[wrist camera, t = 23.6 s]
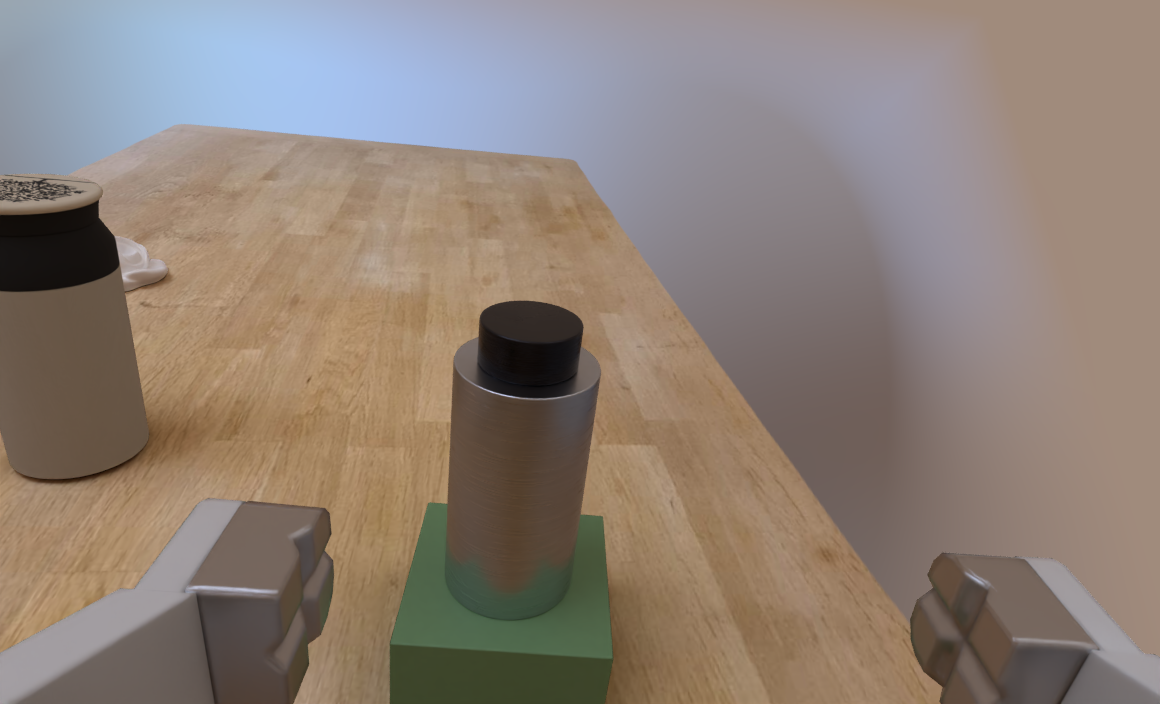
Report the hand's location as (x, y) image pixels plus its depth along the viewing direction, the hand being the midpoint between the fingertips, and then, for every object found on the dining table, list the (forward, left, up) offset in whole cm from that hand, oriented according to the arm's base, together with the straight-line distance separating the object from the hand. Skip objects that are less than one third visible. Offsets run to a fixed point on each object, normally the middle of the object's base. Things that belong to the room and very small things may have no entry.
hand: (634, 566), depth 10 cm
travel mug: (+32, -34, -25) cm, 53 cm away
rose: (+46, -64, -25) cm, 83 cm away
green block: (+2, -20, -24) cm, 32 cm away
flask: (+2, -20, -19) cm, 28 cm away
